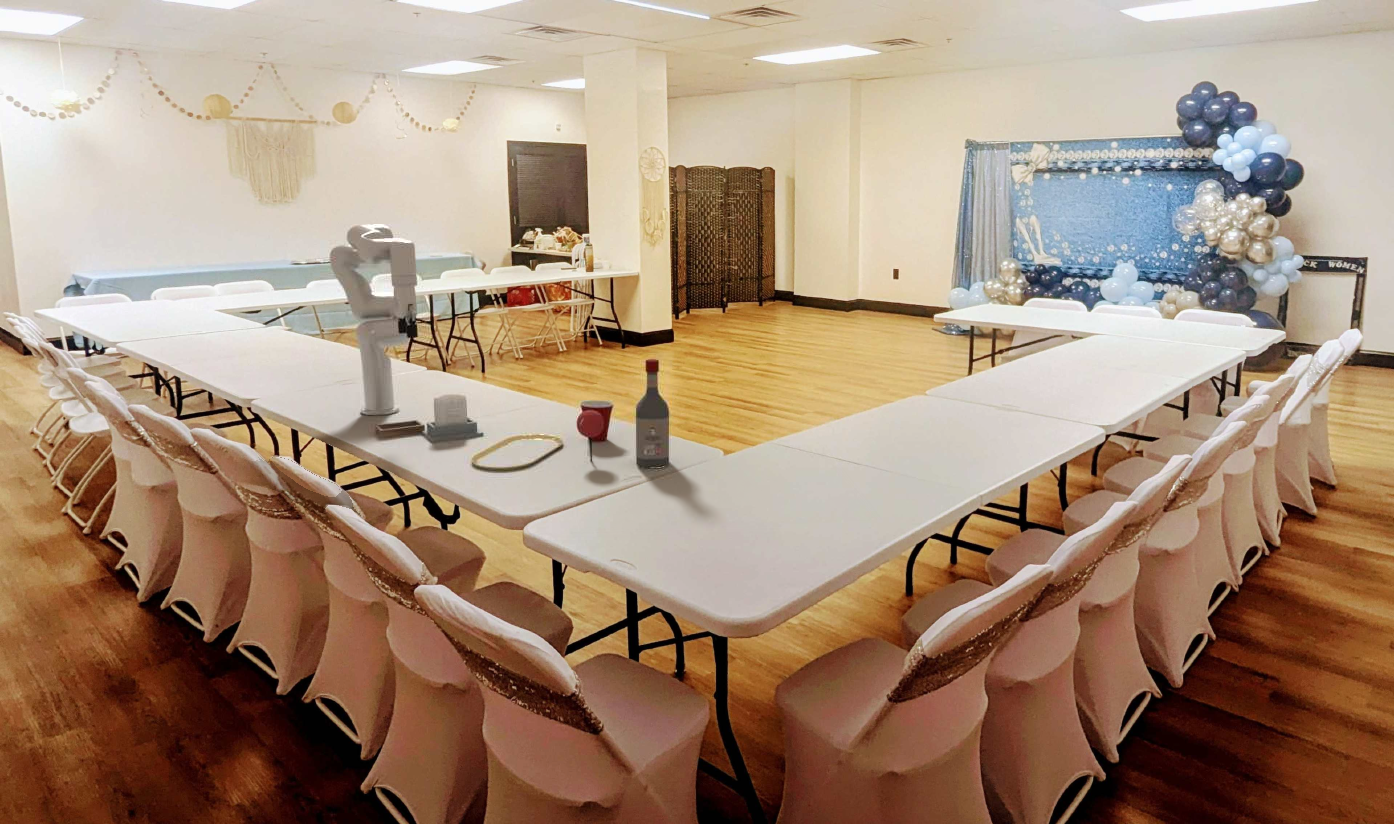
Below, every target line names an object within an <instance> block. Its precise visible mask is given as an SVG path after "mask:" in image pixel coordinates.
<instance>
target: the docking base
mask: <svg viewBox="0 0 1394 824" xmlns="http://www.w3.org/2000/svg"><path fill="white" fill-rule="evenodd" d="M421 435H422V436H424V437H425V438H426V439H428V440H429V441H430V442H432V443H434V444H435V443H439V442H441V443H442V442H448V441H456V440H461V439H463V440H464V439H469V438H470V439H471V438H475V437H483V436H484V432H483V431H482V430H480V429H479V428H478V422H477V421H475V420H474V419H473V418H471V417H469V416H467V423H462V424H455V425H447V426H440V427H435V421H429V422H426V429H425V430H423V431H422V433H421Z"/></svg>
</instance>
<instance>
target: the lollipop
mask: <svg viewBox="0 0 1394 824" xmlns="http://www.w3.org/2000/svg"><path fill="white" fill-rule="evenodd" d="M603 427H604V421H603V417H602V416H601V414H600V413H598V412H596V411H593V410H587V411H584V412H581V413H579V415H578V417H577V420H576V429H577V431H578V433H579V434H580V435H581V436H583V437H586V438H588V437H590V441H589V448H590V449H589V451H590V452H589V454H590V455H589V456H590V457H589V459H590V462H591V461H592V462H593V445H592V444H593V443H592V442H593V441H592V437H595V436H598V435H599V434H600V433H601V432H602V430H603Z"/></svg>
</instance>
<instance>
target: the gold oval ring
mask: <svg viewBox="0 0 1394 824" xmlns="http://www.w3.org/2000/svg"><path fill="white" fill-rule="evenodd" d="M532 438H540V439H539V440H542V439H548V440H547V441H549V440H553V441H554V443H555V442H556V443H555V444H557V443H558V444H559V445H558V444H557V446H558V447H557V446H556V447H554V448H552V449H550V450H549V451H548V452H546V453H544V454H543V455H541V456H539V457H537V458H536V459H534V460H532V461H530V462H528V463H523V464H520V465H513V466H486V465H482V464H478V462H479V461H480V460H481V458H482V459H484V458H485V457H487V456H489V455H491V454H492V453H491V452H493V453H494V451H495V450H497V451H498V450H500V449H502V448H504V447H506V446H507V445H506V444H508V443H510V444H512V443H514V442H513V441H516V440H520V441H522V440H521V439H529V440H533V439H532ZM553 441H552V442H553ZM511 442H512V443H511ZM516 442H517V441H516ZM563 444H564V440H563V439H562V438H561V437H558V436H556V435H550V434H539V433H538V434H537V433H536V434H534V433H533V434H531V433H529V434H521V435H515V436H514V435H513V436H510V437H508V438H505V439H503V440H500V441H499V442H497V443H495V444H493V445H491V446H490V447H488V448H486V449H484V450H482V451H480V452H478V453H476V454H475V455H473V456H471V463H472V464H473V465H474V466H476V467H477V468H479V469H482V470H487V471H512V470H511V469H514V470H519V469H518V468H520V469H523V467H524V468H526V466H527V467H530V466H532V465H534V464H535V463H537V462H538V461H540V460H541V459H543V458H545V457H546V455H547V456H548V455H550V454H552V453H553V452H555V451H557V450H558V449H559V448H561V446H563ZM508 445H509V444H508ZM503 446H504V447H503ZM501 447H502V448H501ZM499 448H500V449H499ZM495 452H496V451H495ZM551 452H552V453H551ZM490 453H491V454H490ZM488 454H489V455H488ZM486 455H487V456H486ZM484 456H485V457H484ZM479 459H480V460H479ZM477 460H479V461H477ZM531 464H532V465H531ZM529 465H530V466H529Z"/></svg>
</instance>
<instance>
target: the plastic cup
mask: <svg viewBox="0 0 1394 824" xmlns="http://www.w3.org/2000/svg"><path fill="white" fill-rule="evenodd" d="M578 403H579V405H580V407H581V411H582V412H584V411H587V410H593V411H596V412H598V413H600V414H601V416H602V417H603V421H604V427H603V430H602V432H601V433H600V434H599V435H598V436H595V437H592V442H594V443H596V442H597V443H599V442H604V441H607V439H608V433H609V429H610V424H611V423H610V422H611V416H612V412H613V409H614V406H615V402H613V401H608V400H599V399H598V400H597V399H596V400H595V399H592V400H583V401H580V402H578ZM582 412H581V413H582ZM587 439H588V441H589V442H590V437H587Z"/></svg>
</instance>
